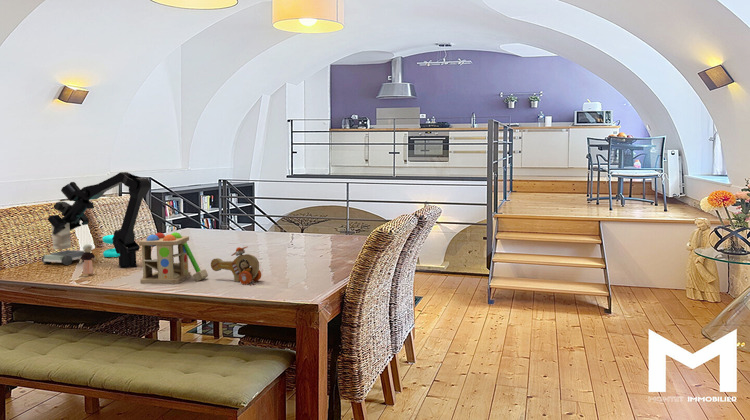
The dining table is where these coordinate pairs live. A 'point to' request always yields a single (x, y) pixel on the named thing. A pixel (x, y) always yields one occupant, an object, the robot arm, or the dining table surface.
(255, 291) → the dining table surface
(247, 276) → the toy helicopter
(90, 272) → the grandmother figurine
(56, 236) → the beige stone block
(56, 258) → the chassis
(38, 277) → the dining table surface
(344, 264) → the dining table surface
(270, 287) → the dining table surface
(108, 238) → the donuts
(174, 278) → the pounding bench toy
